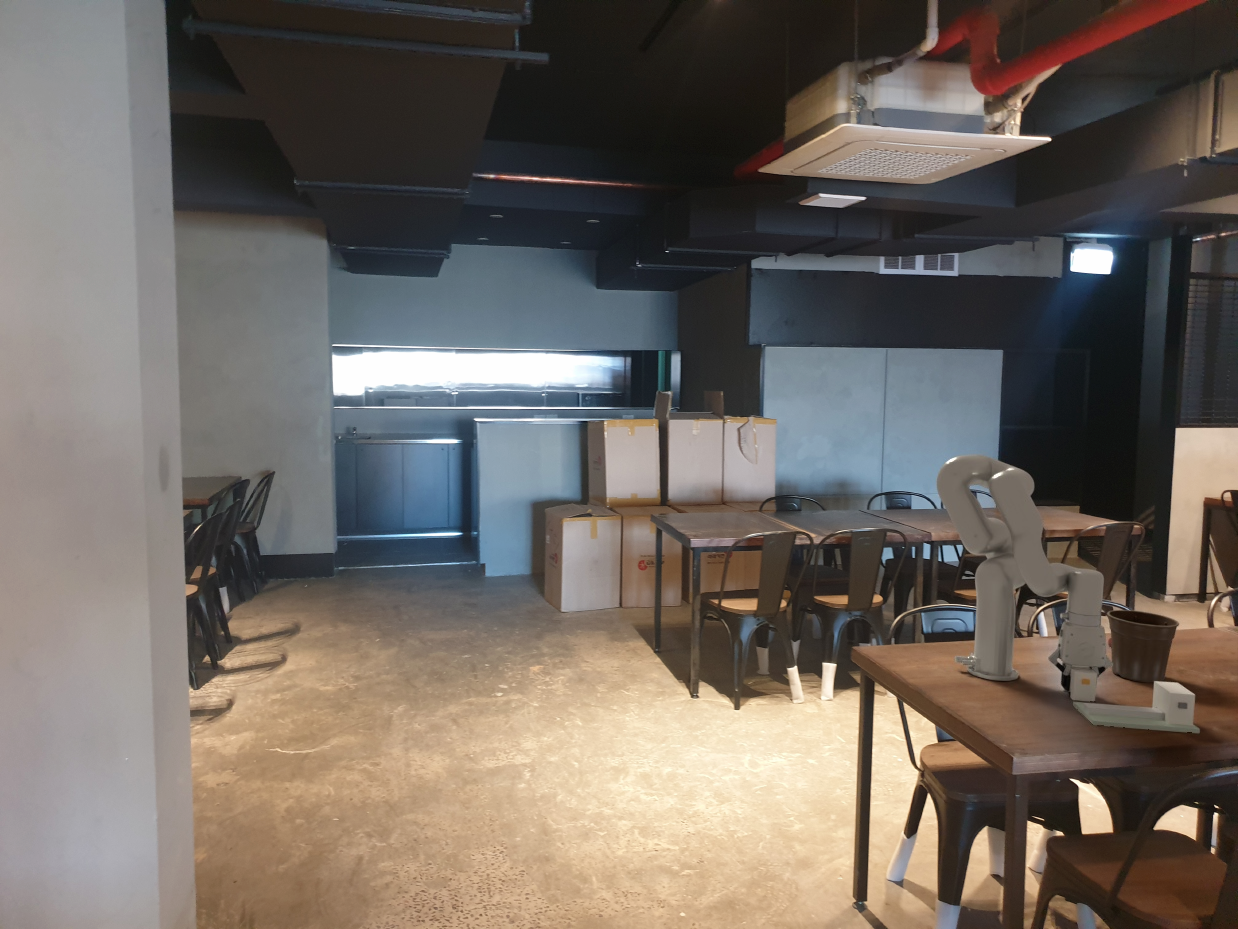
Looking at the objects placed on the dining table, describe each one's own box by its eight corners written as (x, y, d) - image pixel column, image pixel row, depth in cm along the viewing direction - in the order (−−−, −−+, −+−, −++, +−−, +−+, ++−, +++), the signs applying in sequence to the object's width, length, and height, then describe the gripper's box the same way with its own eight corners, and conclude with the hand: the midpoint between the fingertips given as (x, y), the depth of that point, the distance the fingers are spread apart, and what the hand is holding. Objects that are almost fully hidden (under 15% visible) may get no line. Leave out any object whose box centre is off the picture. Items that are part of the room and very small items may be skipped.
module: (1073, 701, 203) (1075, 672, 202) (1061, 688, 212) (1063, 661, 211) (1095, 702, 202) (1098, 674, 202) (1082, 690, 211) (1084, 663, 210)
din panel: (1092, 725, 188) (1095, 690, 187) (1073, 706, 200) (1075, 673, 199) (1199, 733, 184) (1202, 698, 184) (1173, 713, 196) (1175, 680, 196)
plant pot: (1168, 671, 227) (1173, 614, 226) (1180, 690, 212) (1184, 628, 211) (1100, 662, 234) (1104, 606, 232) (1107, 680, 219) (1111, 620, 218)
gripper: (1051, 620, 203) (1046, 692, 205) (1127, 625, 200) (1121, 698, 202) (1041, 612, 211) (1036, 682, 212) (1114, 617, 208) (1108, 688, 209)
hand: (1078, 689), depth 207 cm, fingers closed on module, 5 cm apart
